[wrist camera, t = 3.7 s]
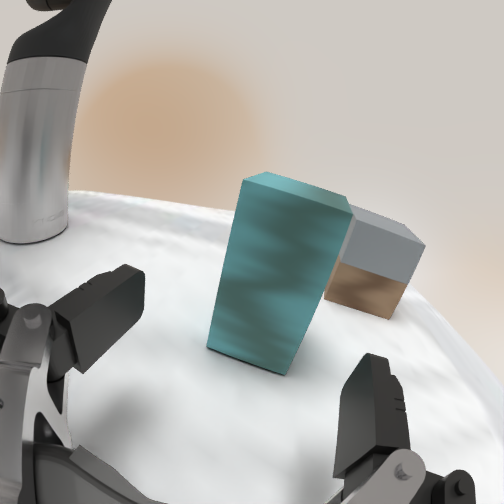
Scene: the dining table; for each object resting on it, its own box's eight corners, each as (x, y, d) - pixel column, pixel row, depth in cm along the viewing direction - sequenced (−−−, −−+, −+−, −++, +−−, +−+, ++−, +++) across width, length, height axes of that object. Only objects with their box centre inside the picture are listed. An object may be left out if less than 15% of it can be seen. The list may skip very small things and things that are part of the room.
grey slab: (340, 262, 23) (356, 219, 22) (335, 237, 30) (347, 203, 28) (407, 284, 22) (425, 245, 21) (391, 256, 29) (404, 224, 27)
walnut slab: (324, 299, 25) (339, 261, 23) (325, 269, 31) (337, 237, 30) (388, 319, 24) (407, 284, 22) (378, 287, 30) (392, 257, 29)
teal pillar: (206, 346, 16) (242, 179, 12) (232, 305, 20) (266, 171, 16) (284, 375, 15) (353, 214, 11) (296, 327, 20) (345, 196, 16)
